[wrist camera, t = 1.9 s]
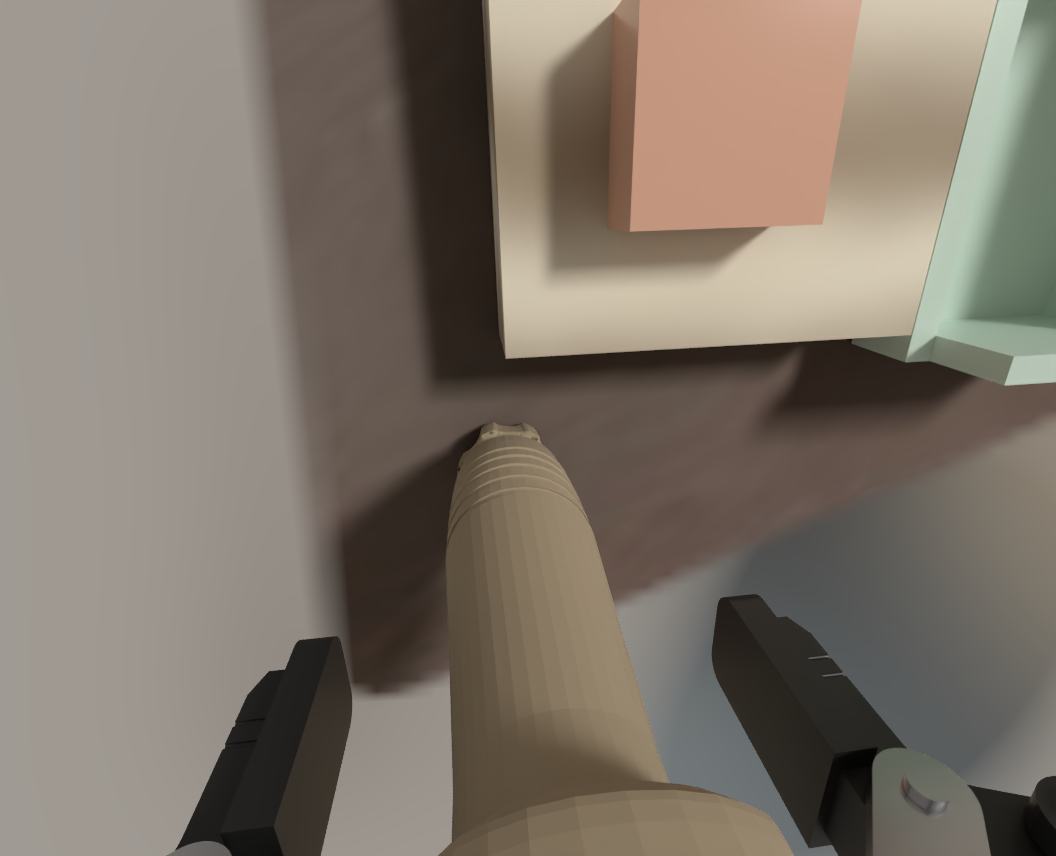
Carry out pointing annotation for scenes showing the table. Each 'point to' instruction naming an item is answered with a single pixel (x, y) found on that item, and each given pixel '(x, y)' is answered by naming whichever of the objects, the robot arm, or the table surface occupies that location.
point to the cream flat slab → (721, 253)
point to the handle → (555, 684)
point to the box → (997, 218)
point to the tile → (726, 111)
